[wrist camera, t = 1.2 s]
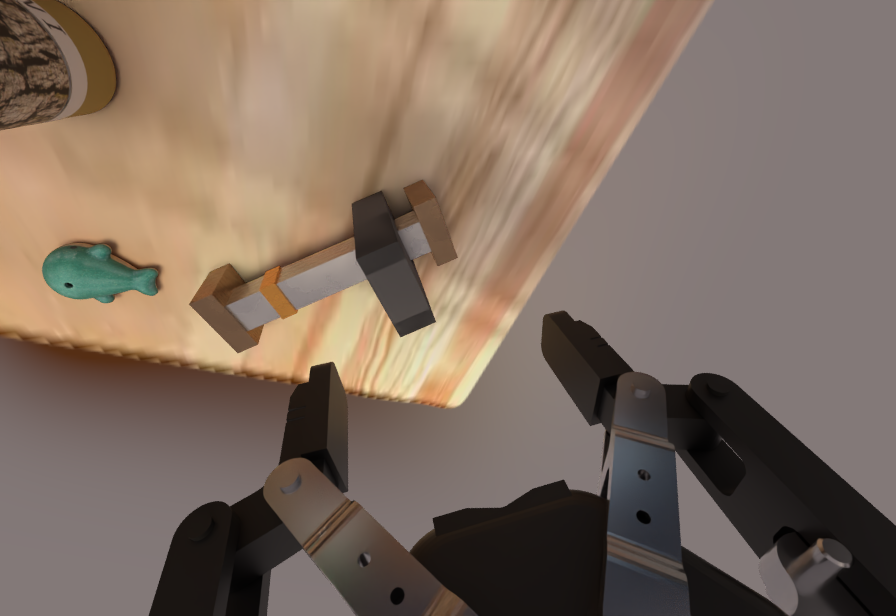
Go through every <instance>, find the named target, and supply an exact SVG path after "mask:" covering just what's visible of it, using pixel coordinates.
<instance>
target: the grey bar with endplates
mask: <svg viewBox="0 0 896 616" xmlns="http://www.w3.org/2000/svg"><path fill="white" fill-rule="evenodd" d="M404 191H405V193H406V195H407V198H408V200H409V203H410V205H411V207H412V210H413V211H412V212H409V213H407V214H405V215H403V216H400V217H398V218H396V219H393V222H394V225H395V227H396V229H397V232H398V234H399V236H400V238H401V240H402V242H403V245H404V247H405V249H406V251H407V253H408V255H409V257H410V260H413V259H415V258H417V257H420V256H422V255H424V254H427V253H429V252H431V253H432V255H433V257H434V259H435V262H436V264H437V266H440V265H442V264H444V263H447V262H449V261H451V260H453V259H456V258H458V257H457V254H456V252H455V249H454V246H453V243H452V241H451V238H450V235H449V233H448V230H447V227H446V224H445V222H444V219H443V216H442V214H441V211H440V208H439V205H438V203H437V200H436V197H435V196H434V195H433V193H432V192H431V190H430V189H429V188H428V186H427V185H426V184H425V182H424V181H423V180H421V181H419V182H416V183H414V184H412V185H409V186H407V187H405V188H404ZM364 280H367V278H366V276H365V274H364V273H363V271H362V269H361V267H360V266H359V264H358V262H357V260H356V253H355V240H354V237H352V238H350V239H347V240H345V241H343V242H340V243H338V244H336V245H333V246H331V247H329V248H327V249H324V250H322V251H320V252H317V253H315V254H313V255H310V256H308V257H306V258H303V259H301V260H299V261H297V262H294V263H292V264H290V265H287V266H285V267H283V268H281V267H280V266H278V267H275V268H273V269H271V270H269V271H266V272H265V275H264V276H262V277H260V278H257V279H255V280H253V281H250V282H248V283H245V282H244V280H243V279H242V278H241V277H240V276H239V274H238V273H237V272H236V271H235V270H234V268H233V267H232V266H231V265H230V264H227V265H225V266H223V267H220V268H218V269H216V270H213V271H211V272H210V273H209V274H208V276H207V277H206V279H205V281H204V282H203V284H202V285H201V287H200V288H199V290H198V291H197V293H196V294H195V296H194V298H193V299H192V301H191V302H190V304H189V305H190V306H191V307H192V308H193V309H194V310H195V311H196V312H197V313H198V314H199V315H200V316H201V317H202V318H203V319H204V320H205V321H206V322H207V323H208V324H209V325H210V326H211V327H212V328H213V329H214V330H215V331H216V332H217V333H218V334H219V335H220V336H221V337H222V338H223V339H224V340H225V341H226V342H227V343H228V344H229V345H230V346H231V347H232V348H233V349H234V350H235V351H236V352H237V353H240V352H242V351H244V350H246V349H249V348H251V347H253V346H256V345H258V343H259V339H260V336H261V333H262V329H263V326H264V324H265V323H268V322H270V321H272V320H275V319H277V318H279V317H281V318H282V319H285V318H287V317H289V316H291V315H294V314H296V313H297V311H298V309H300V308H302V307H305V306H307V305H309V304H311V303H314V302H316V301H318V300H321V299H323V298H325V297H328V296H330V295H332V294H334V293H337V292H339V291H341V290H344V289H346V288H348V287H351V286H353V285H355V284H357V283H360V282H362V281H364Z"/></svg>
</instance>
